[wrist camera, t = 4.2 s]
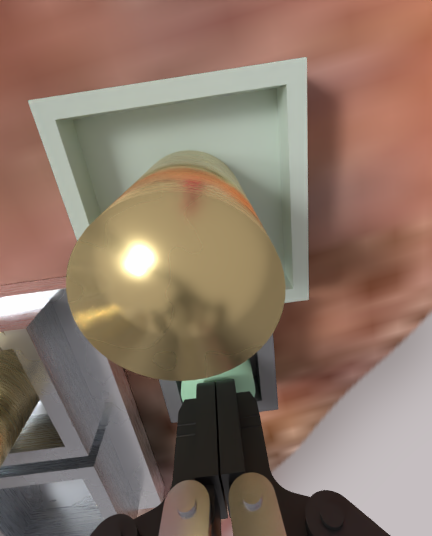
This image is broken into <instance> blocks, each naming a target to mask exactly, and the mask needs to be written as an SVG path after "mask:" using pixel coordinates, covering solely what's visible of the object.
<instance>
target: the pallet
mask: <svg viewBox="0 0 432 536" xmlns="http://www.w3.org/2000/svg"><path fill="white" fill-rule="evenodd" d="M8 349H13V350H14V352H15V354H16V355H17V357H18V359H19V361H20V363H21V365H22V367H23V369H24V370H25V372H26V374H27V376H28V378H29V380H30V382H31V384H32V385H33V387H34V389H35V391H36V393H37V395H38V397H39V399H40V401H39V402H38V404H37V406H36V407H35V409H34V411H33V413H32V414H31V416H30V418H29V419H28V421H27V423H26V425H25V426H24V428H23V430H22V431H21V433H20V435H19V437H18V438H17V440H16V442H15V443H14V445H13V447H12V449H11V450H10V452H9V454H8V455H7V457H6V459H5V461H4V462H3V464H2V466H1V467H0V536H90V535H91V534H92V532H93V531H94V530H95V529H96V528H97V526H98V525H99V524H100V523H101V522H102V521H104V520H105V519H106V518H108V517H110V516H112V515H115V514H126V515H128V516H130V517H131V518H132V519H135V518H137V514H138V509H145V508H153V507H157V506H158V505H160V504H161V503H162V502H163V495H164V483H163V481H162V478H161V475H160V472H159V469H158V466H157V464H156V461H155V458H154V455H153V452H152V449H151V446H150V444H149V441H148V438H147V435H146V432H145V429H144V426H143V424H142V421H141V418H140V415H139V412H138V409H137V406H136V404H135V401H134V398H133V395H132V392H131V389H130V387H129V384H128V381H127V378H126V375H125V372H124V369H123V368H122V367H121V366H119V365H117V364H115V363H114V362H112V361H111V360H109V359H108V358H106V357H105V356H104V355H102V354H101V353H100V352H99V351H98V350H97V349H96V348H94V347H93V346H92V344H91V343H90V342H89V341H88V340H87V339H86V338H85V336H84V335H83V333H82V332H81V330H80V329H79V327H78V326H77V324H76V322H75V320H74V318H73V316H72V313H71V310H70V307H69V304H68V298H67V292H66V277H59V278H52V279H45V280H38V281H31V282H23V283H16V284H9V285H2V286H0V351H1V350H8Z"/></svg>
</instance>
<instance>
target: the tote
mask: <svg viewBox="0 0 432 536" xmlns="http://www.w3.org/2000/svg"><path fill="white" fill-rule="evenodd" d="M28 103H29V106H30V109H31V111H32V114H33V117H34V120H35V123H36V126H37V128H38V131H39V134H40V137H41V140H42V143H43V145H44V148H45V151H46V154H47V157H48V160H49V162H50V165H51V168H52V171H53V174H54V177H55V179H56V182H57V185H58V188H59V191H60V194H61V196H62V199H63V202H64V205H65V208H66V211H67V214H68V216H69V219H70V222H71V225H72V228H73V231H74V233H75V236H76V239H77V241H78V239H79V238H80V237H81V235H82V234H83V232H84V231H85V230H86V228H87V227H88V226H89V225H90V224H91V223H92V222H93V221H94V220H95V219H96V218H97V217H98V216H99V215H100V214H102V213H103V212H104V211H105V210H106V209H107V208H108V207H109V206H110V205H111V204H112V203H113V202H114V201H115V200H117V199H118V198H119V197H120V196H121V195H122V194H123V193H124V192H125V191H126V190H127V189H128V188H129V187H130V186H132V185H133V184H134V183H135V182H136V181H137V180H138V179H139V178H140V177H141V176H142V175H143V174H144V173H145V172H147V171H148V170H149V169H150V168H151V167H152V166H153V165H154V164H155V163H156V162H157V161H159V160H160V159H161V158H163V157H165V156H167V155H169V154H172V153H174V152H179V151H186V150H194V151H201V152H205V153H208V154H210V155H212V156H214V157H216V158H218V159H219V160H221V161H222V162H223V163H225V164H226V165H227V166H228V167H229V168H230V170H231V171H232V172H233V173H234V175H235V177H236V178H237V180H238V182H239V184H240V185H241V187H242V189H243V191H244V193H245V195H246V196H247V198H248V200H249V202H250V204H251V205H252V207H253V209H254V211H255V213H256V215H257V216H258V218H259V220H260V222H261V224H262V226H263V227H264V229H265V231H266V233H267V235H268V236H269V238H270V240H271V242H272V244H273V246H274V247H275V249H276V252H277V254H278V256H279V258H280V261H281V264H282V268H283V271H284V277H285V285H286V287H285V302H284V303H289V302H296V301H304V300H309V262H308V140H307V57H303V58H297V59H290V60H284V61H277V62H271V63H265V64H258V65H252V66H245V67H239V68H233V69H226V70H220V71H213V72H207V73H200V74H194V75H188V76H181V77H175V78H168V79H162V80H155V81H149V82H143V83H136V84H130V85H123V86H117V87H111V88H104V89H98V90H91V91H85V92H78V93H72V94H66V95H59V96H53V97H46V98H40V99H34V100H28Z"/></svg>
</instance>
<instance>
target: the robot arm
mask: <svg viewBox="0 0 432 536" xmlns="http://www.w3.org/2000/svg"><path fill="white" fill-rule="evenodd" d="M177 425H178V427H177V435H176V436H177V438H176V447H175V459H174V471H173V481H172V486H171V489H170V491H169V493H168V495H167V496H166V498H165V499H164V500H163V502H162V503H161V504H160V505H158V506H157V507H156V508H154V509H153V510H151V511H149V512H147V513H145V514H143V515H141V516H139V517H137V518H135V519H132V518H131V517H130V516H128V515H126V514H115V515H112V516H110V517H108V518H106V519H105V520H104V521H102V522H101V523H100V524H99V525H98V526H97V528H96V529H95V530H94V531H93V532H92V534H91V535H90V536H221V519H226V518H228V513H227V506H228V511H229V516H230V518H231V521H232V528H233V536H390V535H389V534H388V533H386V532H385V531H384V530H383V529H382V528H380V527H379V526H378V525H377V524H376V523H375V522H373V521H372V520H371V519H370V518H369V517H367V516H366V515H365V514H364V513H363V512H361V511H360V510H359V509H358V508H357V507H355V506H354V505H353V504H352V503H350V502H349V501H348V500H347V499H346V498H345V497H343V496H342V495H340V494H338V493H336V492H333V491H328V490H323V491H319V492H316V493H315V494H313V495H312V496H311V497H308V496H304V495H300V494H296V493H292V492H290V491H288V490H285V489H284V488H282V487H281V486H280V485H279V484H278V483H277V482H276V480H275V479H274V478H273V476H272V474H271V471H270V468H269V463H268V457H267V452H266V447H265V441H264V436H263V431H262V426H261V420H260V415H259V410H258V404H257V401H256V399H255V398H254V397H253V395H252V394H251V393H250V391H247V392H239V393H236V387H235V380H234V379H228V380H220V381H216V383H215V381H213V382H205V383H198V384H197V386H196V398H193V399H185V400H184V402H183V404H182V406H181V408H180V410H179V412H178V424H177Z"/></svg>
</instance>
